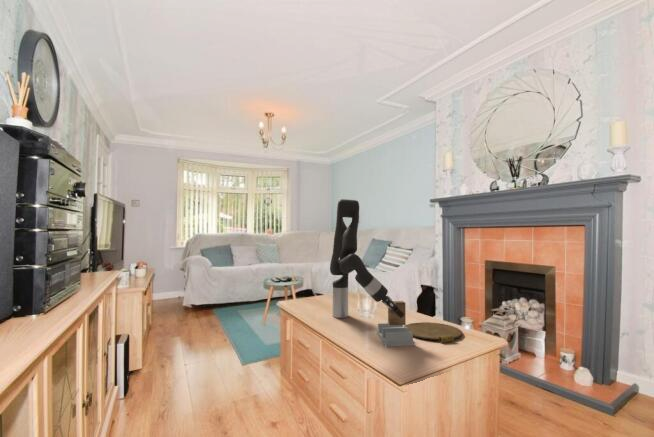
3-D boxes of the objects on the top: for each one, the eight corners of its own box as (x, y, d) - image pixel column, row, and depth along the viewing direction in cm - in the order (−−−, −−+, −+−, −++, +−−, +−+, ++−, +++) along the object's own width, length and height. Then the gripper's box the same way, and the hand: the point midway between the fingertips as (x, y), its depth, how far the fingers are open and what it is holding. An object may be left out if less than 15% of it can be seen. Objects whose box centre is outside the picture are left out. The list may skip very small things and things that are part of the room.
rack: (376, 334, 154) (376, 322, 154) (402, 333, 155) (402, 322, 155) (386, 346, 138) (386, 334, 138) (414, 345, 139) (414, 333, 139)
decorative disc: (439, 318, 175) (478, 333, 146) (439, 324, 175) (478, 340, 146) (392, 322, 167) (424, 339, 138) (392, 328, 167) (424, 347, 138)
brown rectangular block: (388, 323, 144) (388, 301, 145) (402, 322, 145) (402, 301, 145) (390, 325, 141) (390, 303, 141) (405, 325, 142) (405, 302, 142)
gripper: (385, 285, 136) (412, 313, 137) (376, 280, 150) (401, 305, 151) (373, 298, 135) (400, 325, 136) (365, 291, 149) (390, 316, 150)
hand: (401, 315), depth 143 cm, fingers closed on brown rectangular block, 3 cm apart
